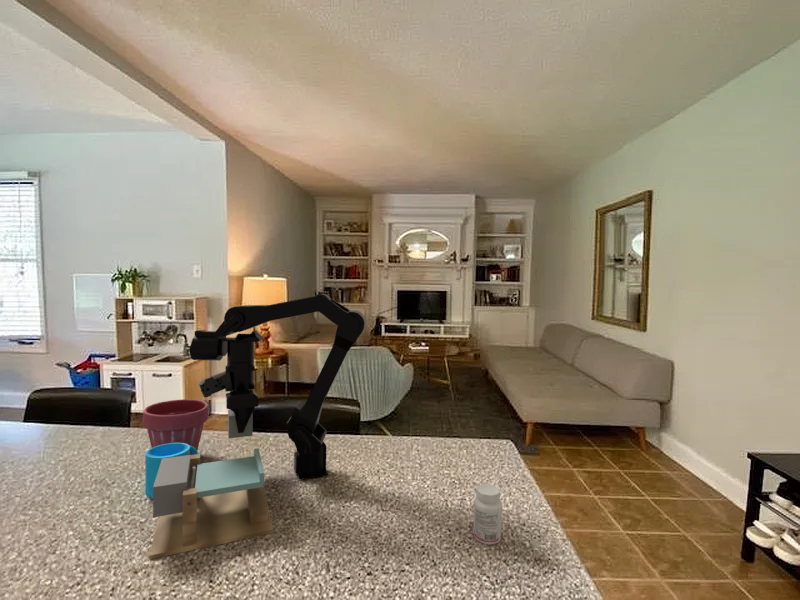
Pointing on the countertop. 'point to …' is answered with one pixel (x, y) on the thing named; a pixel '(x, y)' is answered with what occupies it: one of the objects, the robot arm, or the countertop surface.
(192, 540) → the frame
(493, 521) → the pill bottle
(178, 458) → the trapdoor
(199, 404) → the plant pot
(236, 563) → the countertop surface
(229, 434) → the gray cube
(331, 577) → the countertop surface
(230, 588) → the countertop surface
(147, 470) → the mug
